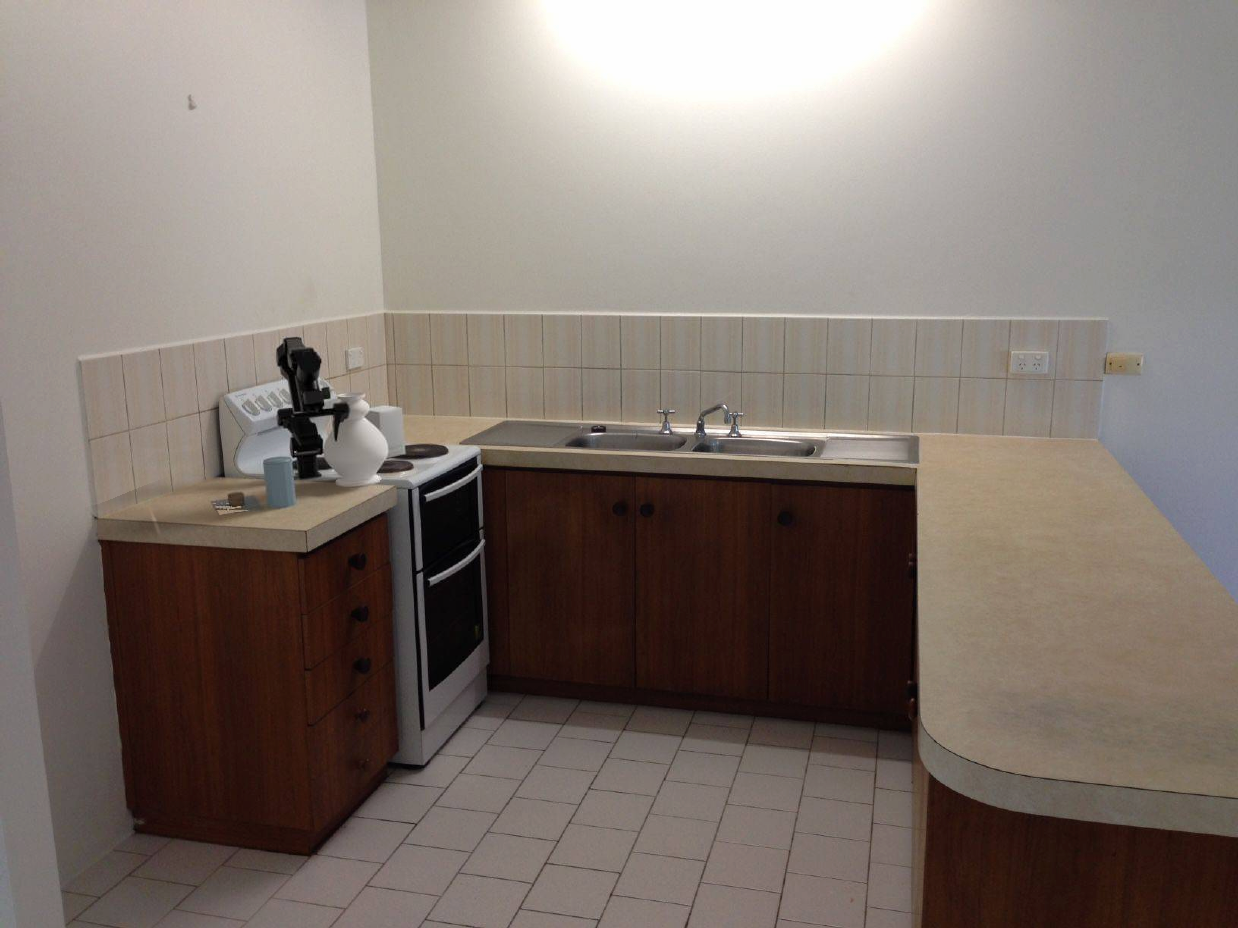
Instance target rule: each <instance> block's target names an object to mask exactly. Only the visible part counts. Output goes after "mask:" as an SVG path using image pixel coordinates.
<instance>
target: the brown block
mask: <svg viewBox="0 0 1238 928" xmlns="http://www.w3.org/2000/svg"><path fill="white" fill-rule="evenodd" d="M244 497H245V493H244V492H243V491H233V492H230V493H228V494H227V499H228V503H229V506H230V507H231V506H232V507H237V506H243V505H245V501H244Z"/></svg>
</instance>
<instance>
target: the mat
mask: <svg viewBox="0 0 1238 928" xmlns="http://www.w3.org/2000/svg"><path fill="white" fill-rule="evenodd" d="M244 501H245V505H243V506H241V508H235V509H229V510H249V511H248V512H252V510H254V511H260V510H264V507H263V505H261V503H260V502H259V500H258V499H257V498H256V497H255V495H247V496H246V495H244ZM210 502H211V504H212V503H216V504H212V507H214V506H229V504H226V503H228V498H225V499H219V500H218V499H217V500H211V501H210ZM221 503H222V504H221ZM216 510H227V508H226V509H223V508H221V509H220V508H216V509H215V511H216ZM245 512H246V511H243V512H242V513H245ZM238 513H239V512H237V513H236V514H238Z"/></svg>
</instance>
